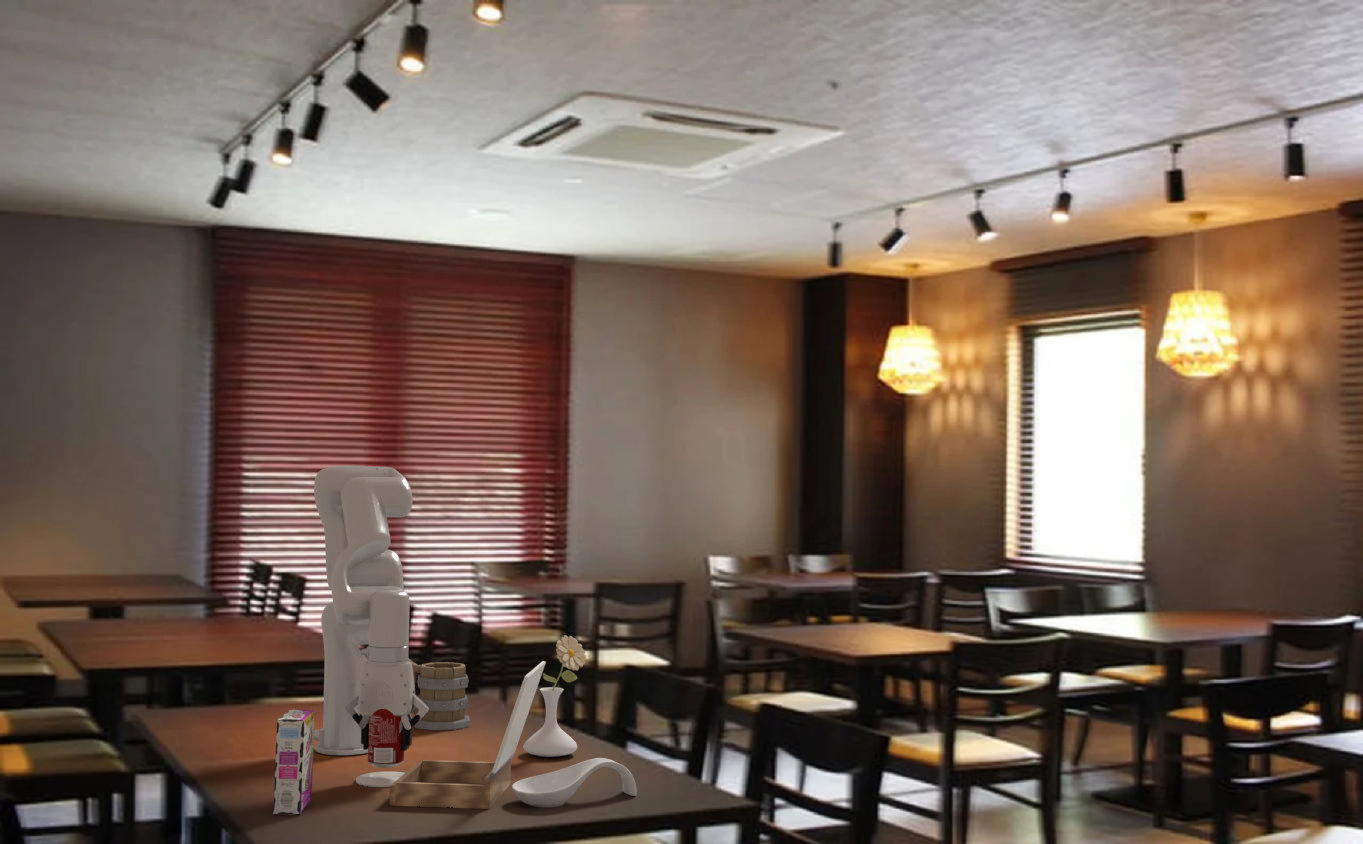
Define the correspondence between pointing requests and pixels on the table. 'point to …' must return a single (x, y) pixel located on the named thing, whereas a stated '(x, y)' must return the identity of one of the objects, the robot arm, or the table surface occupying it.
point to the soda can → (385, 739)
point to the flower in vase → (551, 735)
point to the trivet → (378, 779)
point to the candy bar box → (294, 761)
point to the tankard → (442, 695)
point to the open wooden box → (450, 785)
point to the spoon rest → (566, 783)
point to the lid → (518, 718)
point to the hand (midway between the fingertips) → (386, 748)
